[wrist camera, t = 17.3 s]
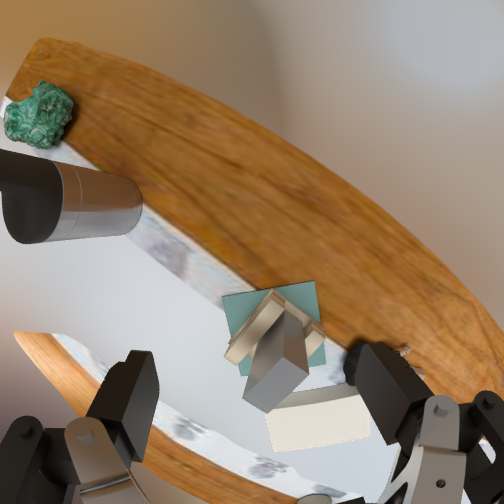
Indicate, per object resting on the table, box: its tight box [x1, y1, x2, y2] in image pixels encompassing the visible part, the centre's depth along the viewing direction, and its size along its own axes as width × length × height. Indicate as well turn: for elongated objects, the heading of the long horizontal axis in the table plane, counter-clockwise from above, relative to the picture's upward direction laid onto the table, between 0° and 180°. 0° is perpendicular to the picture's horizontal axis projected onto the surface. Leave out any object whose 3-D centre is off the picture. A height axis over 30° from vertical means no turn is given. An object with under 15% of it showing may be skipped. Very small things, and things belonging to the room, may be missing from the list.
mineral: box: [4, 80, 74, 149], centre depth 36 cm, size 18×16×10 cm
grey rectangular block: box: [242, 310, 309, 414], centre depth 30 cm, size 6×3×14 cm, turn 144°
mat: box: [222, 281, 326, 376], centre depth 39 cm, size 13×13×1 cm
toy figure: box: [343, 341, 426, 386], centre depth 35 cm, size 7×6×15 cm
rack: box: [224, 288, 326, 365], centre depth 36 cm, size 10×9×6 cm
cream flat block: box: [264, 383, 371, 452], centre depth 37 cm, size 16×10×4 cm, turn 102°
